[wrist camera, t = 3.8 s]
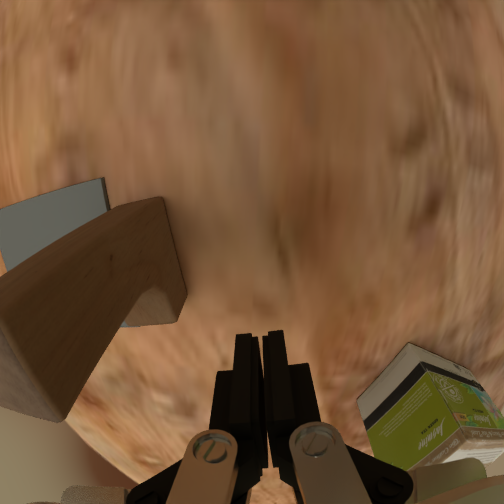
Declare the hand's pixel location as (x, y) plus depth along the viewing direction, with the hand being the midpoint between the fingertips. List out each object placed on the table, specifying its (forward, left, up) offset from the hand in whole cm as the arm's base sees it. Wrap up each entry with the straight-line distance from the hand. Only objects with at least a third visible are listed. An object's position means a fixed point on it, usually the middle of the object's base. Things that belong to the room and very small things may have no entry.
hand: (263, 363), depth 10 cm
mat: (+20, 0, -14) cm, 25 cm away
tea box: (-18, +21, -14) cm, 31 cm away
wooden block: (+9, 0, -14) cm, 17 cm away
